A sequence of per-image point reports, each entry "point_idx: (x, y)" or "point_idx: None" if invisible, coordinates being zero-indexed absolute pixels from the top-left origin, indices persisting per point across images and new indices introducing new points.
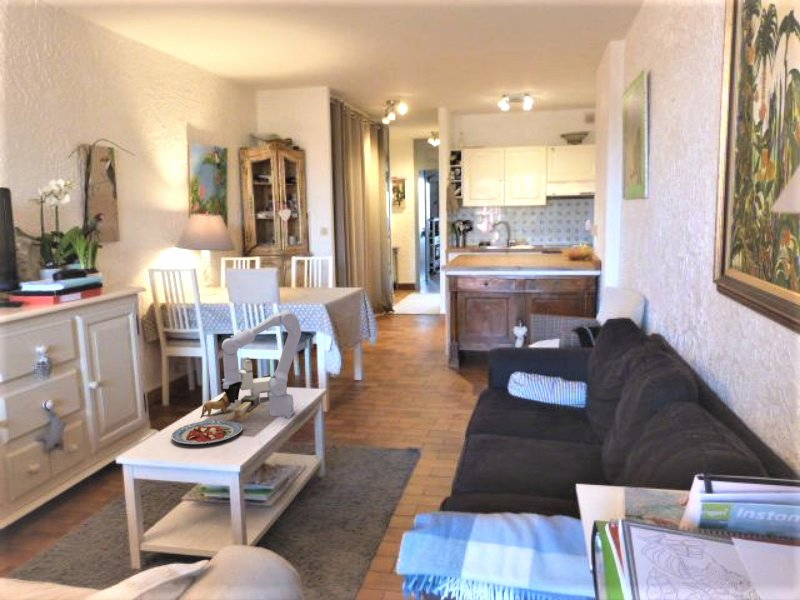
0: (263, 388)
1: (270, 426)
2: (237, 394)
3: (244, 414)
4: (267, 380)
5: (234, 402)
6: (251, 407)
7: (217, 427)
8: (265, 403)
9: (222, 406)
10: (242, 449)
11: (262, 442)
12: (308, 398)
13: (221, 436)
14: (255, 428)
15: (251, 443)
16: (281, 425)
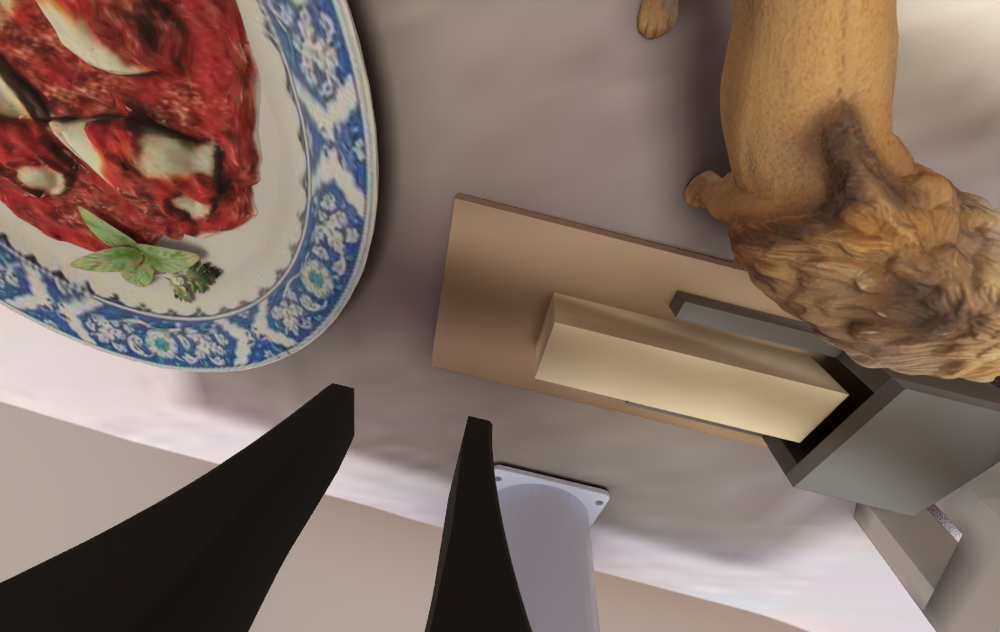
0: (997, 609)
1: (353, 467)
2: (442, 545)
3: None
4: None
5: (349, 437)
6: None
7: (147, 196)
8: None
9: (735, 179)
10: (2, 362)
11: (129, 433)
12: (797, 613)
13: (73, 239)
14: None
15: (96, 395)
16: (369, 501)
